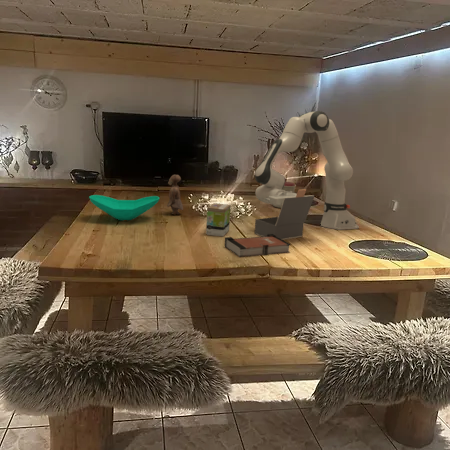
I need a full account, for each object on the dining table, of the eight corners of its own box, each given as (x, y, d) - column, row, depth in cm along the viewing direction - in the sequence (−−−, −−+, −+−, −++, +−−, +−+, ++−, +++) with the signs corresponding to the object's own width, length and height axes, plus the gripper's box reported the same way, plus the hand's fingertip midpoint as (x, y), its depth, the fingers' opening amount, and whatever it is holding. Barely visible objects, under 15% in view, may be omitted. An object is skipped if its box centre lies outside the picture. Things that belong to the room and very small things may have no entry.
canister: (298, 207, 318) (300, 178, 313) (287, 210, 303) (290, 180, 298) (275, 203, 327) (277, 175, 322) (264, 207, 312) (266, 177, 307)
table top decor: (86, 224, 239) (85, 200, 236) (93, 213, 265) (92, 192, 262) (159, 225, 245) (159, 202, 242) (159, 214, 272) (159, 193, 269)
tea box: (224, 236, 228) (225, 208, 224) (205, 235, 229) (206, 207, 226) (229, 230, 242) (231, 203, 238) (212, 228, 244) (213, 202, 240)
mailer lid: (315, 188, 224) (317, 189, 223) (303, 221, 233) (304, 222, 233) (287, 190, 212) (288, 191, 212) (275, 225, 222) (276, 226, 221)
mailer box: (282, 229, 248) (283, 216, 246) (302, 236, 235) (303, 222, 233) (254, 233, 236) (255, 219, 234) (274, 241, 224) (275, 225, 222)
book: (240, 258, 194) (240, 247, 193) (224, 247, 210) (224, 237, 209) (290, 253, 205) (291, 243, 204) (272, 243, 221) (272, 234, 219)
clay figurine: (168, 211, 281) (168, 172, 275) (183, 212, 282) (184, 173, 276) (166, 216, 269) (166, 175, 263) (182, 216, 269) (183, 176, 263)
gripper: (263, 192, 226) (281, 197, 215) (292, 190, 237) (311, 194, 226) (262, 204, 227) (280, 209, 216) (291, 202, 239) (310, 206, 228)
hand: (296, 202), depth 221 cm, fingers closed, pressing on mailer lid
